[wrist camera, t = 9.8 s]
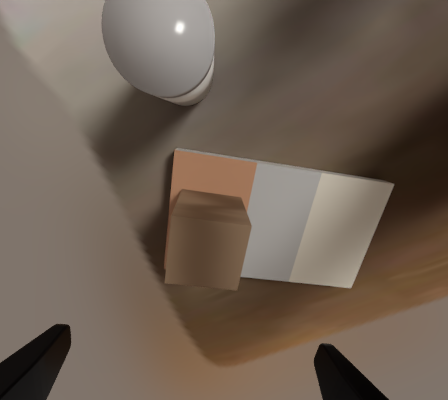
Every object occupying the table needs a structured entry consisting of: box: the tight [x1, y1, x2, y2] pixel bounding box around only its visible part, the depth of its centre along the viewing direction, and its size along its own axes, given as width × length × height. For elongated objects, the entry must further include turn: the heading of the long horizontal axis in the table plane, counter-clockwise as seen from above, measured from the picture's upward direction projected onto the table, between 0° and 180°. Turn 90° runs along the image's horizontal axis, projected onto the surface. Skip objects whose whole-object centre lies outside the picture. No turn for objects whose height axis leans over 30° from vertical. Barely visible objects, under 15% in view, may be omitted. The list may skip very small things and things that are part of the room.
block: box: [165, 189, 252, 290], centre depth 16 cm, size 4×4×5 cm
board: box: [164, 148, 394, 288], centre depth 19 cm, size 17×10×1 cm, turn 81°
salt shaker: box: [102, 0, 215, 106], centre depth 12 cm, size 4×4×8 cm
